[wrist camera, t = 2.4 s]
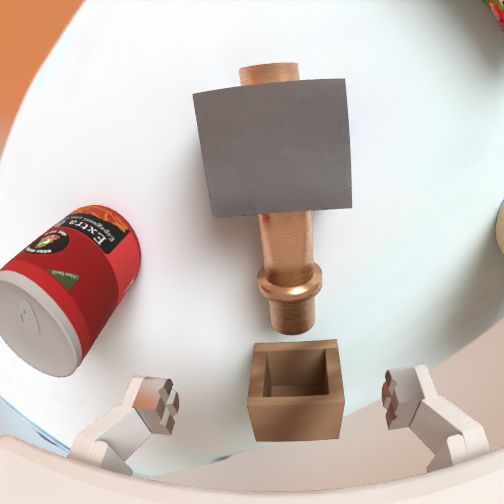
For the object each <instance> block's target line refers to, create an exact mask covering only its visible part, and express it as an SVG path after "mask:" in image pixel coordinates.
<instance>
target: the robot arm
mask: <svg viewBox="0 0 504 504" xmlns="http://www.w3.org/2000/svg"><path fill="white" fill-rule="evenodd" d="M385 378H386V382H385V383H384V384H383V387H382V402H383V407H385V408H386V409H387V413H386V420H387V425H388V430H391V429H398V428H405V427H409V428H410V429H411V430H412V431H413V432H414V433H415V434H416V435H417V436H418V438H419V439H420V440H422V442H423V443H424V444H425V445H426V446H427V447H428V448H429V449H430V450H431V451H432V452H433V453H434V454H435V455H436V456H435V457H434V459H433V460H432V461H431V463H430V464H429V465H428V467H427V473H424V474H420V475H416V476H412V477H407V478H402V479H398V480H392V481H387V482H382V483H376V484H369V485H363V486H355V487H347V488H338V489H327V490H314V491H292V492H257V491H233V490H219V489H208V488H200V487H191V486H184V485H177V484H171V483H165V482H159V481H154V480H149V479H144V478H139V477H134V476H132V473H133V471H132V469H131V468H130V467H129V466H128V465H127V464H126V463H125V462H124V461H125V460H126V459H127V458H128V457H130V456H131V455H132V454H133V453H134V452H135V451H136V450H137V449H138V448H139V447H140V446H141V445H142V444H143V443H144V442H145V441H146V440H147V439H148V438H149V437H150V436H151V435H152V433H155V434H165V435H171V433H172V430H173V426H174V423H175V421H174V419H173V416H174V415H176V414H177V412H178V409H179V397H178V394H177V392H176V391H175V390H174V389H172V386H173V383H172V381H171V379H165V378H154V377H144V376H134V377H133V378H132V379H131V382H130V384H129V386H128V388H127V391H126V393H125V395H124V397H123V400H122V402H121V404H120V406H116V407H114V408H113V409H112V410H110V411H109V412H107V413H106V414H105V415H103V416H102V417H101V418H99V419H98V420H97V421H95V422H94V423H92V424H91V425H90V426H88V427H87V428H86V429H84V430H83V431H81V432H80V433H79V434H78V435H77V437H76V439H75V441H74V443H73V445H72V448H71V450H70V452H69V454H68V457H64V456H61V455H58V454H56V453H53V452H50V451H48V450H45V449H43V448H40V447H38V446H35V445H33V444H30V443H28V442H26V441H24V440H21V439H19V438H17V437H15V436H12V435H4V436H2V437H0V504H504V447H503V448H501V449H498V450H496V451H493V452H491V450H490V447H489V444H488V441H487V438H486V435H485V432H484V430H483V427H482V426H481V425H480V424H479V423H477V422H476V421H475V420H473V419H472V418H471V417H469V416H468V415H467V414H465V413H464V412H463V411H461V410H460V409H459V408H457V407H456V406H454V405H453V404H452V403H451V402H449V401H448V400H447V399H445V398H444V397H443V396H438V394H437V392H436V389H435V386H434V384H433V381H432V379H431V376H430V373H429V371H428V368H427V366H426V365H425V364H422V365H416V366H408V367H403V368H397V369H390V370H387V372H386V375H385Z"/></svg>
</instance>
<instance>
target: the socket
mask: <svg viewBox="0 0 504 504" xmlns="http://www.w3.org/2000/svg"><path fill="white" fill-rule="evenodd" d="M344 404H345V398H344V390H343V381H342V374H341V366H340V358H339V351H338V344H337V339H336V340H322V341H305V342H284V343H255V349H254V356H253V364H252V371H251V378H250V386H249V393H248V400H247V408H248V412H249V416H250V420H251V424H252V428H253V431H254V435H255V439H256V441H262V442H283V441H312V440H328V439H339V434H340V428H341V422H342V417H343V411H344Z"/></svg>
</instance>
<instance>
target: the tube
mask: <svg viewBox="0 0 504 504" xmlns="http://www.w3.org/2000/svg"><path fill="white" fill-rule="evenodd" d="M239 75H240V83H241V86H246V85H254V84H263V83H273V82H284V81H297V80H300V78H299V70H298V64H297V63H272V64H262V65H255V66H249V67H244V68H241V69H239ZM258 219H259V227H260V234H261V242H262V250H263V259H264V267H263V268H262V269H261V270H260V271H259V273H258V284H259V290H260V293H261V294H262V295H263V296H264V297H265V298H266V299H268V300H269V308H270V316H271V324H272V327H273V328H274V329H275V330H276V331H277V332H279V333H281V334H284V335H299V334H302V333H305V332H307V331H308V330H310V329H311V328H312V327H313V325H314V323H315V295H317V294H318V293H319V291H320V290H321V288H322V270H321V268H320V267H319V266H318V265H317V264H316V263H314V260H313V236H312V217H311V211H296V212H282V213H268V214H258Z"/></svg>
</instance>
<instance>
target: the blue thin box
mask: <svg viewBox="0 0 504 504" xmlns="http://www.w3.org/2000/svg"><path fill="white" fill-rule="evenodd" d="M482 1H483V2H484V4H485V5H486V6H487V8H488V9H489V10H490V12H491V13H492V14H493V16H494V17H495V19H496V20H497V22H498V23H499V25H500V26H501V28H502V29H503V31H504V0H482Z"/></svg>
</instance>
